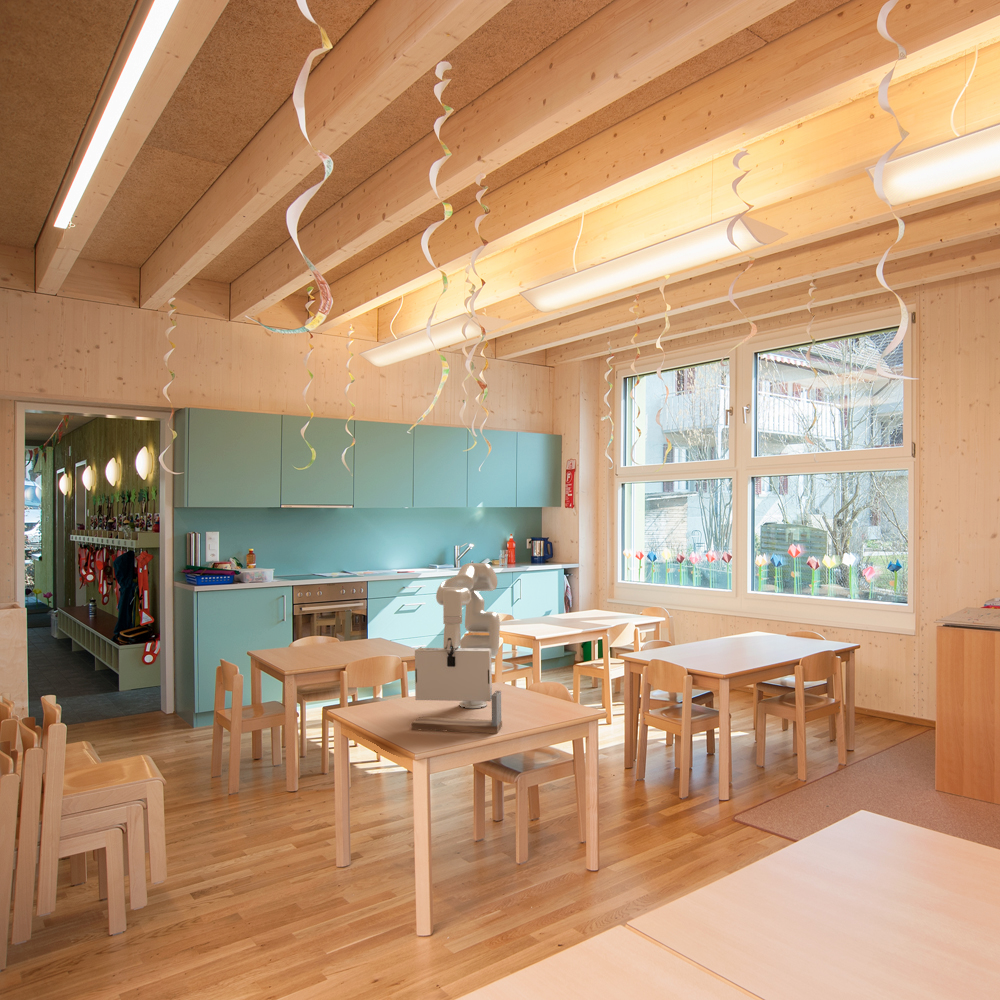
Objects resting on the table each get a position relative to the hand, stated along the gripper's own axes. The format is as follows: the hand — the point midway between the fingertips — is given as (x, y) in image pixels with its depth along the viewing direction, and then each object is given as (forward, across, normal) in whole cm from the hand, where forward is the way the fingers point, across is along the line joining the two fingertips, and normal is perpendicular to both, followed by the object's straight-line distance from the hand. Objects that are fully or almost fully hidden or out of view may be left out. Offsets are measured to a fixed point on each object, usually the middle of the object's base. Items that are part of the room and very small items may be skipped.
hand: (453, 664), depth 310 cm
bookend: (+23, 0, +18) cm, 29 cm away
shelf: (+25, 0, +2) cm, 25 cm away
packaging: (+14, -1, 0) cm, 14 cm away
